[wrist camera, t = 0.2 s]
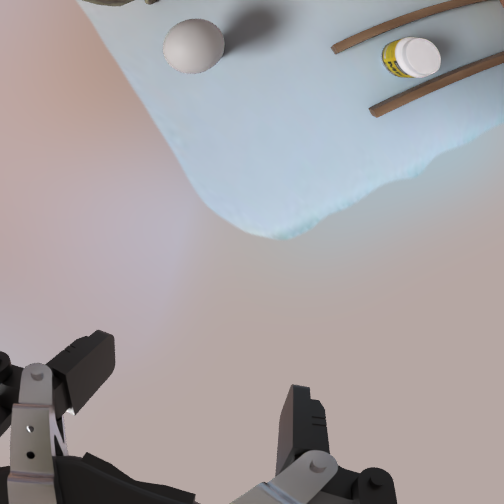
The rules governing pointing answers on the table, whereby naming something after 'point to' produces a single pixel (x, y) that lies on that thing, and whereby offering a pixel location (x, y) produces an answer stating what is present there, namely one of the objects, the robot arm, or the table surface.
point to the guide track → (434, 83)
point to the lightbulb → (193, 46)
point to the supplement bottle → (411, 57)
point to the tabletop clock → (116, 2)
